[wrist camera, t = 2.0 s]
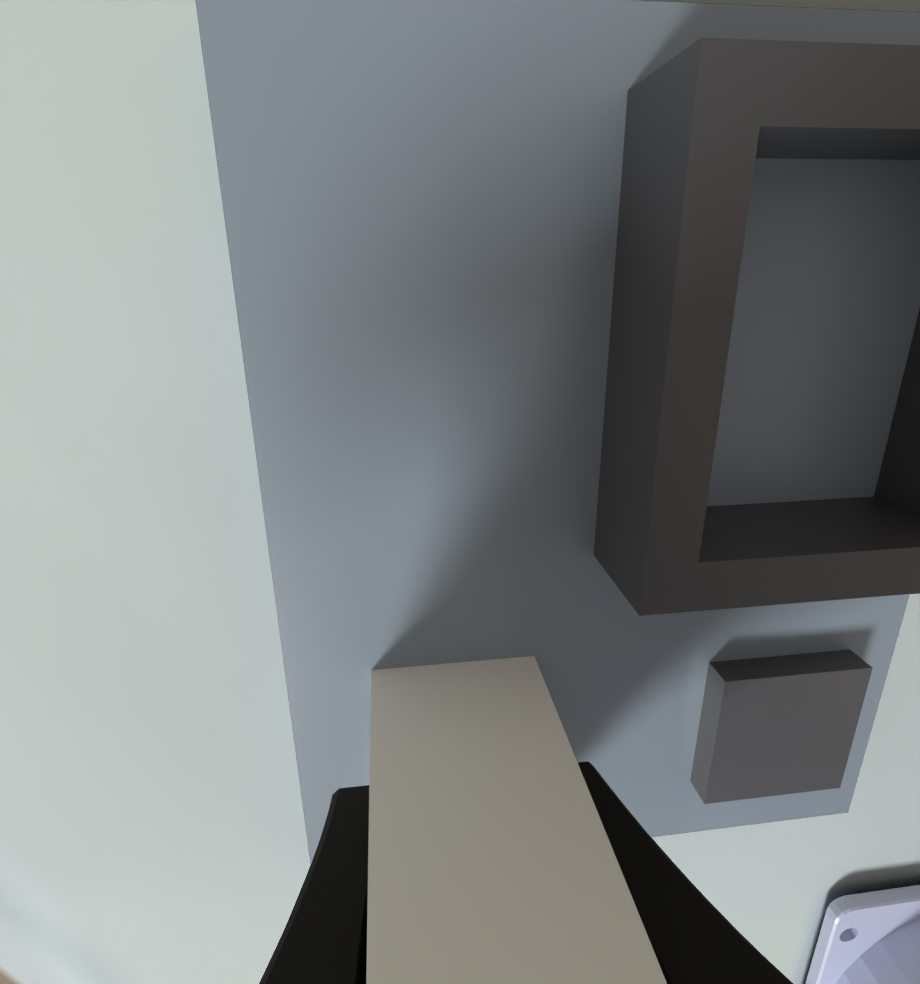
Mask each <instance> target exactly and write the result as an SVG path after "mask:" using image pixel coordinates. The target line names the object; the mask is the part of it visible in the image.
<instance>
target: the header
mask: <svg viewBox="0 0 920 984" xmlns="http://www.w3.org/2000/svg"><path fill="white" fill-rule="evenodd" d="M756 158H777V159H871V160H920V45H897V44H868V43H839V42H811V41H782V40H753V39H725V38H700V39H699V40H697V41H696V42H695V43H693V44H692V45H690V46H689V47H688V48H686V49H685V50H683V51H682V52H681V53H679V54H678V55H676V56H675V57H674V58H672V59H671V60H669V61H668V62H667V63H665V64H664V65H662V66H661V67H660V68H658V69H657V70H655V71H654V72H653V73H651V74H650V75H648V76H647V77H646V78H644V79H643V80H641V81H640V82H639V83H637V84H636V85H634V86H633V87H632V88H630V89H629V90H628V94H627V108H626V121H625V135H624V148H623V162H622V176H621V189H620V203H619V216H618V230H617V244H616V257H615V271H614V284H613V298H612V312H611V325H610V339H609V352H608V366H607V380H606V393H605V407H604V420H603V434H602V447H601V461H600V475H599V488H598V502H597V515H596V529H595V543H594V556H595V558H596V559H597V560H598V562H599V563H600V564H601V566H602V567H603V568H604V570H605V571H606V572H607V574H608V575H609V576H610V578H611V579H612V580H613V582H614V583H615V584H616V586H617V587H618V588H619V590H620V591H621V592H622V594H623V595H624V596H625V597H626V599H627V600H628V601H629V603H630V604H631V605H632V607H633V608H634V609H635V611H636V612H637V613H638V615H639V616H645V615H657V614H669V613H682V612H694V611H706V610H719V609H731V608H744V607H756V606H768V605H781V604H793V603H805V602H818V601H830V600H842V599H855V598H867V597H879V596H892V595H904V594H916V593H920V308H919V312H918V316H917V320H916V325H915V329H914V333H913V337H912V341H911V345H910V349H909V353H908V358H907V362H906V366H905V370H904V374H903V378H902V382H901V386H900V390H899V395H898V399H897V403H896V407H895V411H894V415H893V419H892V423H891V427H890V432H889V436H888V440H887V444H886V448H885V452H884V456H883V460H882V464H881V469H880V473H879V477H878V481H877V485H876V489H875V493H874V497H857V498H841V499H824V500H807V501H790V502H774V503H757V504H740V505H724V506H707V499H708V492H709V485H710V478H711V471H712V464H713V457H714V450H715V443H716V436H717V429H718V422H719V415H720V407H721V400H722V393H723V386H724V379H725V372H726V365H727V358H728V351H729V344H730V337H731V330H732V322H733V315H734V308H735V301H736V294H737V287H738V280H739V273H740V266H741V259H742V252H743V245H744V238H745V230H746V223H747V216H748V209H749V202H750V195H751V188H752V181H753V174H754V167H755V160H756Z"/></svg>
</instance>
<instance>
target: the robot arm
mask: <svg viewBox="0 0 920 984" xmlns="http://www.w3.org/2000/svg"><path fill="white" fill-rule="evenodd" d="M578 765H579V767H580V770H581V772H582V775H583V777H584V780H585V782H586V785H587V787H588V790H589V792H590V795H591V797H592V800H593V802H594V804H595V807H596V809H597V812H598V814H599V817H600V819H601V822H602V824H603V827H604V829H605V832H606V834H607V837H608V839H609V841H610V844H611V846H612V849H613V851H614V854H615V856H616V859H617V861H618V864H619V866H620V869H621V871H622V874H623V876H624V878H625V881H626V883H627V886H628V888H629V891H630V893H631V896H632V898H633V901H634V903H635V906H636V908H637V911H638V913H639V916H640V918H641V920H642V923H643V925H644V928H645V930H646V933H647V935H648V938H649V940H650V943H651V945H652V948H653V950H654V953H655V955H656V957H657V960H658V962H659V965H660V967H661V970H662V972H663V975H664V977H665V980H666V982H667V984H793V983H792V982H791V981H790V980H789V979H788V978H786V977H785V976H784V975H783V974H782V973H781V972H780V971H779V970H778V969H777V968H776V967H774V966H773V965H772V964H771V963H770V962H769V961H768V960H767V959H766V958H765V957H764V956H763V955H762V954H761V953H760V952H759V951H758V950H757V949H756V948H755V947H754V946H753V945H752V944H751V943H750V942H748V941H747V940H746V939H745V938H744V937H743V936H742V935H741V934H740V933H739V932H738V931H737V930H736V929H735V928H734V927H733V926H732V925H731V923H730V922H729V921H728V920H727V919H726V918H725V917H724V916H723V915H722V914H721V913H720V912H719V911H718V910H717V909H716V908H715V907H714V906H713V905H712V904H711V903H710V902H709V901H708V900H707V899H706V898H705V897H704V896H703V894H702V893H701V892H700V891H699V890H698V889H697V888H696V887H695V886H694V885H693V884H692V883H691V882H690V881H689V879H688V878H687V877H686V876H685V875H684V874H683V873H682V872H681V870H680V869H679V868H678V867H677V866H676V865H675V864H674V863H673V862H672V860H671V859H670V858H669V857H668V856H667V855H666V854H665V853H664V851H663V850H662V849H661V848H660V847H659V846H658V845H657V844H656V842H655V841H654V840H653V839H652V838H651V837H650V835H649V834H648V833H647V832H646V831H645V829H644V828H643V827H642V826H641V825H640V823H639V822H638V821H637V820H636V819H635V817H634V816H633V815H632V814H631V813H630V811H629V810H628V809H627V808H626V806H625V805H624V804H623V803H622V802H621V800H620V799H619V798H618V797H617V795H616V794H615V793H614V791H613V790H612V789H611V788H610V786H609V785H608V784H607V783H606V781H605V780H604V779H603V777H602V776H601V775H600V774H599V772H598V771H597V770H596V768H595V767H594V766H593V765H592V764H591V763H590V762H588V761H586V762H578ZM368 839H369V785H366V786H356V787H347V788H339V789H338V790H337V791H336V792H335V793H334V794H332V799H331V803H330V807H329V811H328V815H327V818H326V821H325V825H324V828H323V831H322V834H321V837H320V840H319V843H318V846H317V849H316V852H315V855H314V857H313V860H312V863H311V866H310V868H309V871H308V874H307V876H306V879H305V881H304V884H303V886H302V888H301V891H300V893H299V896H298V898H297V901H296V903H295V906H294V908H293V910H292V913H291V915H290V918H289V920H288V923H287V925H286V927H285V929H284V932H283V934H282V936H281V938H280V941H279V943H278V945H277V947H276V949H275V951H274V953H273V956H272V958H271V960H270V962H269V964H268V966H267V968H266V971H265V973H264V975H263V977H262V979H261V981H260V983H259V984H366V964H367V902H368ZM805 984H920V885H913V886H906V887H899V888H892V889H885V890H878V891H871V892H864V893H857V894H850V895H844V896H841V897H838V898H837V899H835V900H833V901H832V902H831V903H830V904H829V906H828V908H827V910H826V913H825V917H824V920H823V924H822V927H821V931H820V934H819V938H818V941H817V945H816V948H815V952H814V955H813V959H812V962H811V966H810V969H809V973H808V976H807V980H806V983H805Z"/></svg>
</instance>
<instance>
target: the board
mask: <svg viewBox="0 0 920 984" xmlns="http://www.w3.org/2000/svg"><path fill="white" fill-rule="evenodd" d="M195 1H196V8H197V16H198V23H199V31H200V38H201V46H202V53H203V61H204V68H205V76H206V83H207V91H208V98H209V106H210V113H211V121H212V128H213V136H214V143H215V151H216V158H217V166H218V173H219V181H220V188H221V196H222V203H223V211H224V218H225V226H226V233H227V241H228V248H229V256H230V263H231V271H232V278H233V286H234V293H235V301H236V308H237V316H238V323H239V331H240V338H241V346H242V353H243V361H244V368H245V376H246V383H247V391H248V398H249V406H250V413H251V421H252V428H253V436H254V444H255V451H256V459H257V466H258V474H259V481H260V489H261V496H262V504H263V511H264V519H265V526H266V534H267V541H268V549H269V556H270V564H271V571H272V579H273V586H274V594H275V601H276V609H277V616H278V624H279V631H280V639H281V646H282V654H283V661H284V669H285V676H286V684H287V691H288V699H289V706H290V714H291V721H292V729H293V736H294V744H295V751H296V759H297V766H298V774H299V781H300V789H301V796H302V804H303V811H304V819H305V826H306V834H307V841H308V849H309V856H310V864H311V863H312V860H313V857H314V855H315V852H316V849H317V846H318V843H319V840H320V837H321V834H322V831H323V828H324V825H325V821H326V818H327V815H328V811H329V807H330V803H331V799H332V794H334V793H335V792H336V791H337V790H338V789H339V788H347V787H356V786H366V785H369V777H370V714H371V670H378V669H390V668H401V667H413V666H424V665H436V664H447V663H459V662H470V661H482V660H493V659H505V658H516V657H528V656H535V659H536V661H537V664H538V666H539V669H540V671H541V674H542V676H543V679H544V681H545V683H546V686H547V688H548V691H549V693H550V696H551V698H552V701H553V703H554V706H555V708H556V711H557V713H558V716H559V718H560V721H561V723H562V725H563V728H564V730H565V733H566V735H567V738H568V740H569V743H570V745H571V748H572V750H573V753H574V755H575V758H576V760H577V762H586V761H588V762H590V763H591V764H592V765H593V766H594V767H595V768H596V770H597V771H598V772H599V774H600V775H601V776H602V777H603V779H604V780H605V781H606V783H607V784H608V785H609V786H610V788H611V789H612V790H613V791H614V793H615V794H616V795H617V797H618V798H619V799H620V800H621V802H622V803H623V804H624V805H625V806H626V808H627V809H628V810H629V811H630V813H631V814H632V815H633V816H634V817H635V819H636V820H637V821H638V822H639V823H640V825H641V826H642V827H643V828H644V829H645V831H646V832H647V833H648V834H649V835H650V837H656V836H664V835H672V834H680V833H688V832H696V831H704V830H712V829H720V828H728V827H736V826H744V825H752V824H760V823H768V822H776V821H784V820H792V819H800V818H808V817H816V816H824V815H832V814H840V813H848V811H849V807H850V804H851V800H852V797H853V793H854V790H855V786H856V782H857V779H858V775H859V772H860V768H861V765H862V761H863V758H864V754H865V751H866V747H867V743H868V740H869V736H870V733H871V729H872V726H873V722H874V719H875V715H876V712H877V708H878V704H879V701H880V697H881V694H882V690H883V687H884V683H885V680H886V676H887V673H888V669H889V665H890V662H891V658H892V655H893V651H894V648H895V644H896V641H897V637H898V634H899V630H900V627H901V623H902V619H903V616H904V612H905V609H906V605H907V602H908V598H909V595H910V594H904V595H892V596H879V597H867V598H855V599H842V600H830V601H818V602H805V603H793V604H781V605H768V606H756V607H744V608H731V609H719V610H706V611H694V612H682V613H669V614H657V615H645V616H639V615H638V613H637V612H636V611H635V609H634V608H633V607H632V605H631V604H630V603H629V601H628V600H627V599H626V597H625V596H624V595H623V594H622V592H621V591H620V590H619V588H618V587H617V586H616V584H615V583H614V582H613V580H612V579H611V578H610V576H609V575H608V574H607V572H606V571H605V570H604V568H603V567H602V566H601V564H600V563H599V562H598V560H597V559H596V558H595V556H594V543H595V529H596V515H597V502H598V488H599V475H600V461H601V447H602V434H603V420H604V407H605V393H606V380H607V366H608V352H609V339H610V325H611V312H612V298H613V284H614V271H615V257H616V244H617V230H618V216H619V203H620V189H621V176H622V162H623V148H624V135H625V121H626V108H627V94H628V90H629V89H630V88H632V87H633V86H634V85H636V84H637V83H639V82H640V81H641V80H643V79H644V78H646V77H647V76H648V75H650V74H651V73H653V72H654V71H655V70H657V69H658V68H660V67H661V66H662V65H664V64H665V63H667V62H668V61H669V60H671V59H672V58H674V57H675V56H676V55H678V54H679V53H681V52H682V51H683V50H685V49H686V48H688V47H689V46H690V45H692V44H693V43H695V42H696V41H697V40H699V39H700V38H725V39H753V40H782V41H811V42H839V43H868V44H897V45H920V12H902V11H878V10H855V9H831V8H807V7H783V6H759V5H735V4H711V3H687V2H663V1H639V0H195ZM919 308H920V160H871V159H777V158H756V160H755V167H754V174H753V181H752V188H751V195H750V202H749V209H748V216H747V223H746V230H745V238H744V245H743V252H742V259H741V266H740V273H739V280H738V287H737V294H736V301H735V308H734V315H733V322H732V330H731V337H730V344H729V351H728V358H727V365H726V372H725V379H724V386H723V393H722V400H721V407H720V415H719V422H718V429H717V436H716V443H715V450H714V457H713V464H712V471H711V478H710V485H709V492H708V499H707V506H724V505H740V504H757V503H774V502H790V501H807V500H824V499H841V498H857V497H874V493H875V489H876V485H877V481H878V477H879V473H880V469H881V464H882V460H883V456H884V452H885V448H886V444H887V440H888V436H889V432H890V427H891V423H892V419H893V415H894V411H895V407H896V403H897V399H898V395H899V390H900V386H901V382H902V378H903V374H904V370H905V366H906V362H907V358H908V353H909V349H910V345H911V341H912V337H913V333H914V329H915V325H916V320H917V316H918V312H919Z"/></svg>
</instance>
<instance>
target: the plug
mask: <svg viewBox="0 0 920 984" xmlns="http://www.w3.org/2000/svg"><path fill="white" fill-rule="evenodd" d="M366 984H667V982H666V980H665V977H664V975H663V972H662V970H661V967H660V965H659V962H658V960H657V957H656V955H655V953H654V950H653V948H652V945H651V943H650V940H649V938H648V935H647V933H646V930H645V928H644V925H643V923H642V920H641V918H640V916H639V913H638V911H637V908H636V906H635V903H634V901H633V898H632V896H631V893H630V891H629V888H628V886H627V883H626V881H625V878H624V876H623V874H622V871H621V869H620V866H619V864H618V861H617V859H616V856H615V854H614V851H613V849H612V846H611V844H610V841H609V839H608V837H607V834H606V832H605V829H604V827H603V824H602V822H601V819H600V817H599V814H598V812H597V809H596V807H595V804H594V802H593V800H592V797H591V795H590V792H589V790H588V787H587V785H586V782H585V780H584V777H583V775H582V772H581V770H580V767H579V765H578V762H577V760H576V758H575V755H574V753H573V750H572V748H571V745H570V743H569V740H568V738H567V735H566V733H565V730H564V728H563V725H562V723H561V721H560V718H559V716H558V713H557V711H556V708H555V706H554V703H553V701H552V698H551V696H550V693H549V691H548V688H547V686H546V683H545V681H544V679H543V676H542V674H541V671H540V669H539V666H538V664H537V661H536V659H535V656H528V657H516V658H505V659H493V660H482V661H470V662H459V663H447V664H436V665H424V666H413V667H401V668H390V669H378V670H371V714H370V777H369V839H368V902H367V964H366Z"/></svg>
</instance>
